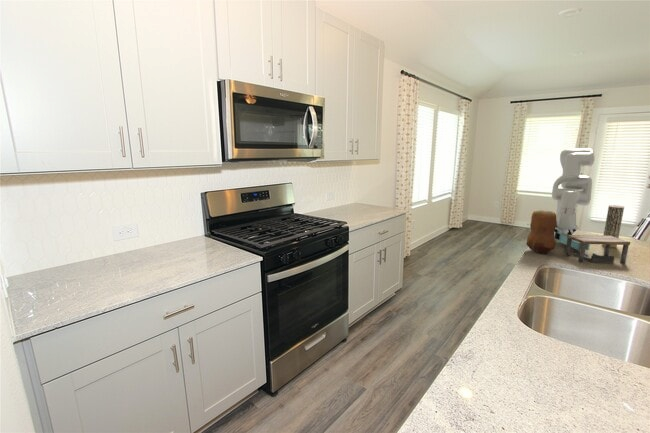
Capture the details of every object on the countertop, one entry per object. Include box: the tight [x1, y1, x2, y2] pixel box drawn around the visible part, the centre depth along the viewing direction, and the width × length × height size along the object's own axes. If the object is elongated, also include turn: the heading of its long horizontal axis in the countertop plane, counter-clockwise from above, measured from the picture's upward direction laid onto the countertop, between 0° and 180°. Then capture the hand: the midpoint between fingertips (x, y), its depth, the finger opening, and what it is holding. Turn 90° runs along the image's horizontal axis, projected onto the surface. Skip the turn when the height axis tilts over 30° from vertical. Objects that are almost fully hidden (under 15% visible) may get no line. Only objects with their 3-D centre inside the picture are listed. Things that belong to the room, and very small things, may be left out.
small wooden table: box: [564, 234, 631, 265], centre depth 166 cm, size 13×22×12 cm, turn 84°
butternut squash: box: [526, 208, 557, 255], centre depth 176 cm, size 14×13×25 cm
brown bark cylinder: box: [601, 204, 625, 249], centre depth 187 cm, size 7×7×25 cm
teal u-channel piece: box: [554, 233, 591, 251], centre depth 185 cm, size 22×6×4 cm, turn 174°
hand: (562, 239), depth 192 cm, fingers closed on teal u-channel piece, 6 cm apart
